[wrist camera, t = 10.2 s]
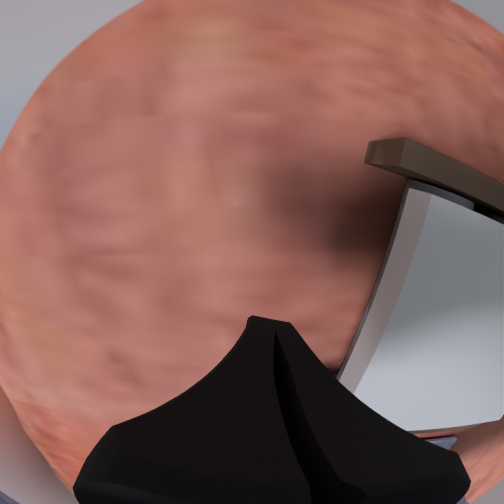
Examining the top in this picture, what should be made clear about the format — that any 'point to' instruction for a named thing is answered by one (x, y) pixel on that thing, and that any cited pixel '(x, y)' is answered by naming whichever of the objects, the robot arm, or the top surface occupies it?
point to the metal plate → (435, 321)
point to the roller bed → (439, 184)
